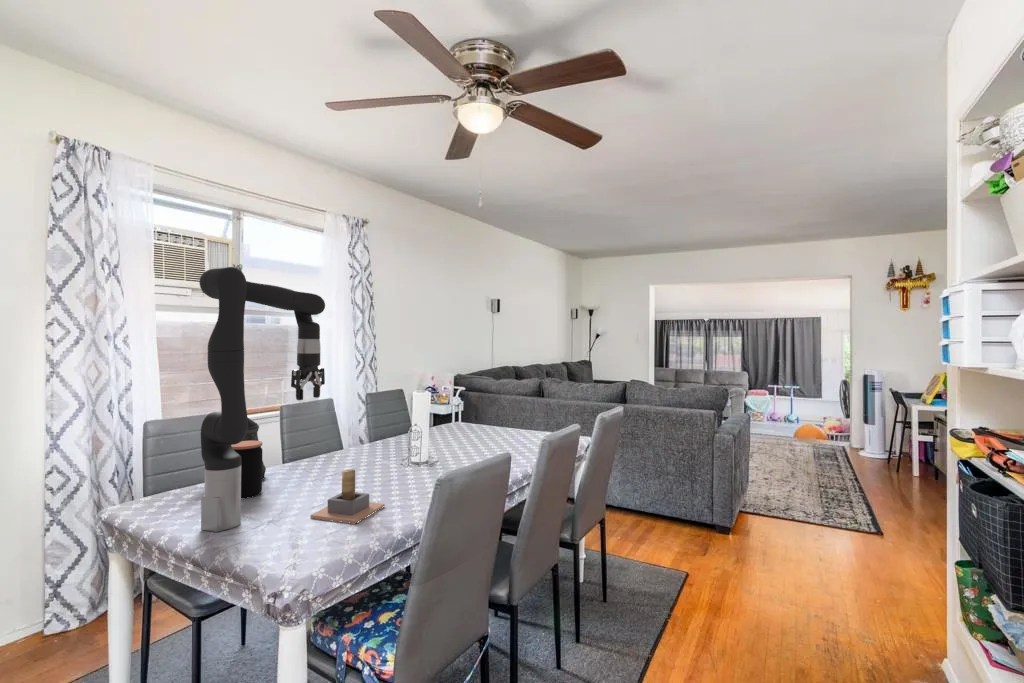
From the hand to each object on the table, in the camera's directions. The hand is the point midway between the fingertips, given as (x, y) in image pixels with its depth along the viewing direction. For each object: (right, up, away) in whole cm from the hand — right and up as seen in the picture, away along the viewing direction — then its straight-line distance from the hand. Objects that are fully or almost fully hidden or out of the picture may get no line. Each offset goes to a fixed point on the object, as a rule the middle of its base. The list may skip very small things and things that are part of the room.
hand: (308, 398), depth 171 cm
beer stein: (-34, -34, +19) cm, 52 cm away
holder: (+19, -34, -15) cm, 42 cm away
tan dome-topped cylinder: (+19, -33, -15) cm, 41 cm away
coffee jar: (-23, -34, +1) cm, 41 cm away
